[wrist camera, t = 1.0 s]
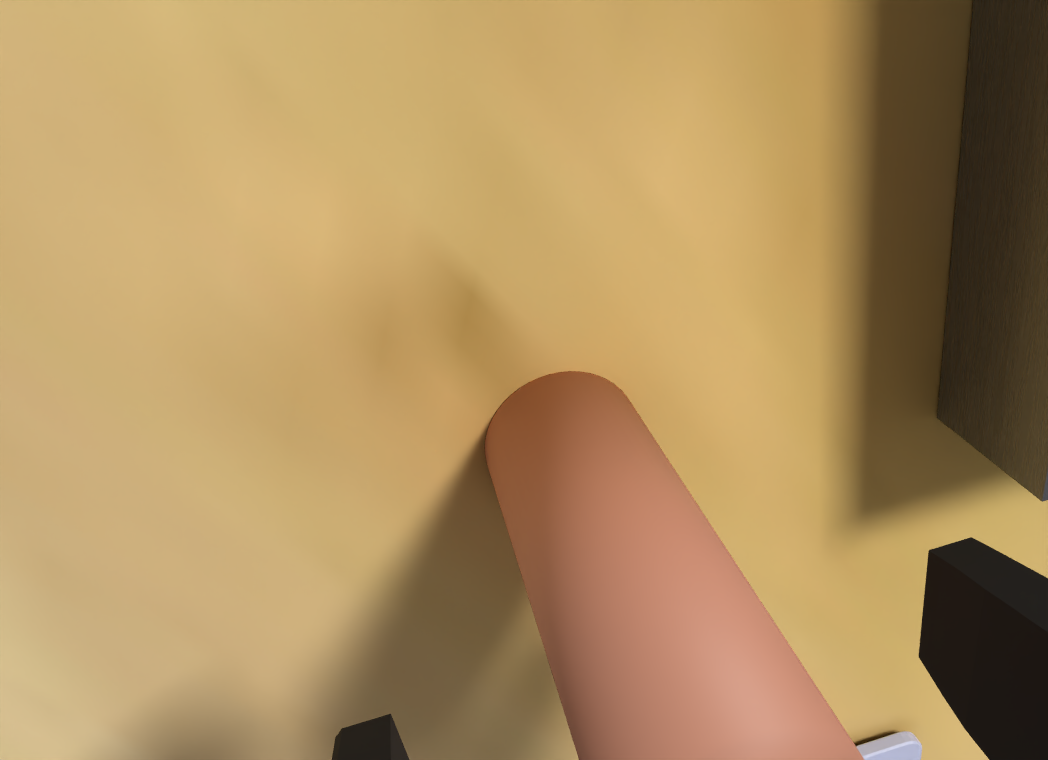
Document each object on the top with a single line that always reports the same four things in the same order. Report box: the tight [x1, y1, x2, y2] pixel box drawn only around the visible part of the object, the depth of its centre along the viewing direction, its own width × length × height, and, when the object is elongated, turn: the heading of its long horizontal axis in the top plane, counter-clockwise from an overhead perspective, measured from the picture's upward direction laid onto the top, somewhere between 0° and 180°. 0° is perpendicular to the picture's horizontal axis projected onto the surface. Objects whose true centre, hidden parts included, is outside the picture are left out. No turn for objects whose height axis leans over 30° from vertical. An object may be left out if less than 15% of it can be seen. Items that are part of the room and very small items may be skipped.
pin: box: [485, 371, 864, 760], centre depth 13 cm, size 3×3×8 cm
